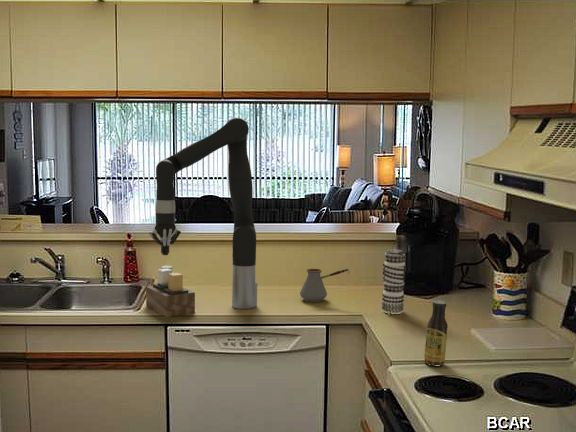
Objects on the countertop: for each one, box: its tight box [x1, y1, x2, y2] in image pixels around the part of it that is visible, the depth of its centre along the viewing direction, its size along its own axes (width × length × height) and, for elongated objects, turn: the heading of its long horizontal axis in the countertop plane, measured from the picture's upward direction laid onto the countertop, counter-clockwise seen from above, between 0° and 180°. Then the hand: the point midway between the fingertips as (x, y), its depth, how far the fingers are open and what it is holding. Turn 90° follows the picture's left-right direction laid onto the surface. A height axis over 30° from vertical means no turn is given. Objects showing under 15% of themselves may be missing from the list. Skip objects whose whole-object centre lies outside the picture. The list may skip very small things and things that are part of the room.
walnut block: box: [145, 282, 196, 318], centre depth 261 cm, size 12×18×9 cm, turn 36°
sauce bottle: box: [423, 300, 449, 366], centre depth 206 cm, size 6×6×20 cm
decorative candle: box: [381, 248, 407, 313], centre depth 264 cm, size 9×9×25 cm
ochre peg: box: [168, 272, 184, 291], centre depth 257 cm, size 4×4×8 cm
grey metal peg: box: [157, 268, 173, 287], centre depth 264 cm, size 4×4×8 cm
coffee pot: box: [299, 268, 351, 303], centre depth 279 cm, size 21×12×15 cm, turn 65°
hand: (165, 254), depth 263 cm, fingers closed
